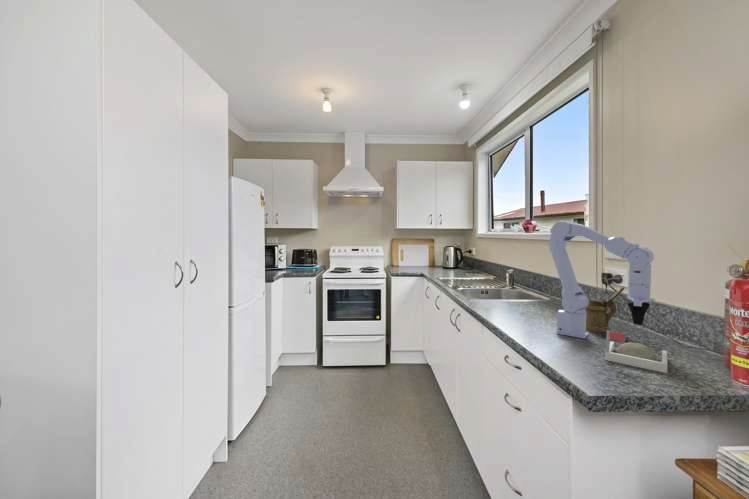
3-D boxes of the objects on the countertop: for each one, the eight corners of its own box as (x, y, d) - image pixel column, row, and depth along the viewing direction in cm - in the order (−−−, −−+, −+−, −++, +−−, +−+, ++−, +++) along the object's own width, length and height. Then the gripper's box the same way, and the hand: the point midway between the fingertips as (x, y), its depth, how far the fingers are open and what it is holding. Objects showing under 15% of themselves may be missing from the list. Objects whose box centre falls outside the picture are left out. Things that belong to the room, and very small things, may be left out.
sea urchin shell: (667, 360, 92) (645, 339, 93) (644, 377, 94) (623, 357, 95) (647, 349, 101) (628, 330, 102) (627, 365, 103) (607, 346, 104)
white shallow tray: (605, 360, 97) (606, 331, 97) (610, 348, 107) (611, 322, 107) (667, 373, 88) (668, 341, 88) (666, 359, 98) (667, 330, 98)
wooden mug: (622, 335, 121) (624, 289, 120) (580, 329, 129) (582, 285, 128) (622, 330, 128) (624, 286, 127) (582, 324, 136) (584, 283, 135)
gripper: (655, 287, 98) (653, 331, 99) (655, 282, 109) (653, 321, 109) (626, 285, 103) (624, 326, 103) (629, 280, 113) (627, 318, 114)
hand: (637, 324), depth 107 cm, fingers closed
